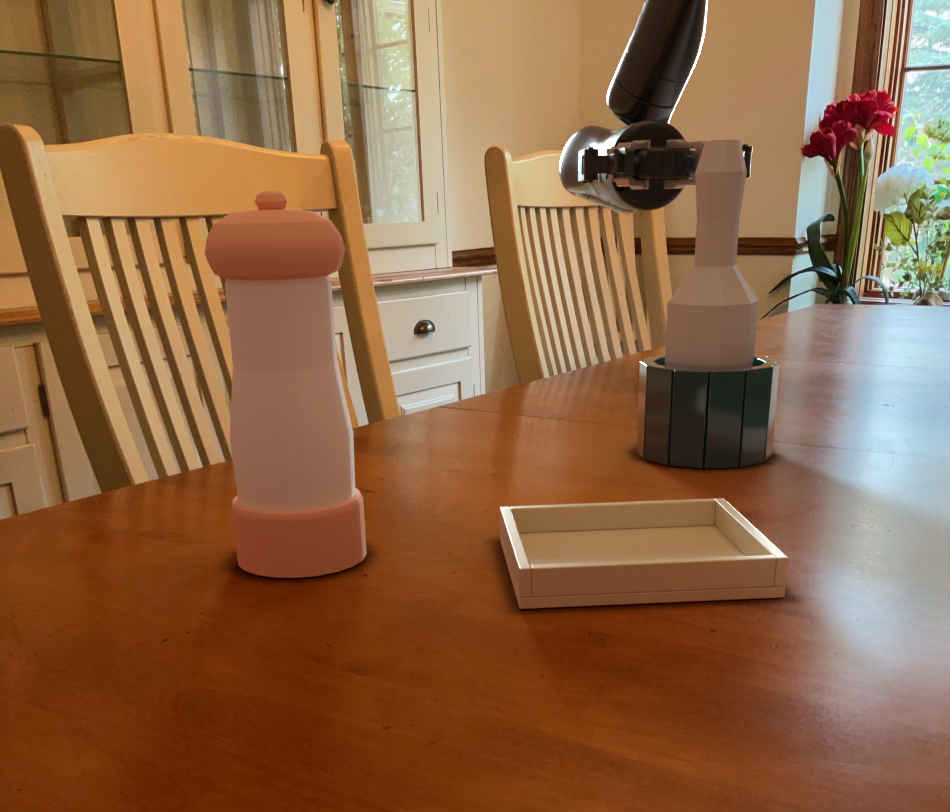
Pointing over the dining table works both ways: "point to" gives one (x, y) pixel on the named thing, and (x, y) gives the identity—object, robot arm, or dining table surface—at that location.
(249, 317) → the salt shaker
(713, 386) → the holder
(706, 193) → the faceted bottle
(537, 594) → the tray
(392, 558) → the dining table surface
